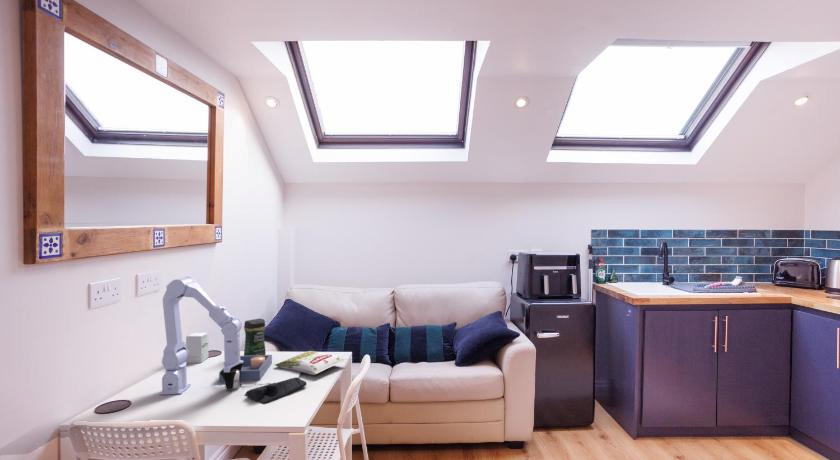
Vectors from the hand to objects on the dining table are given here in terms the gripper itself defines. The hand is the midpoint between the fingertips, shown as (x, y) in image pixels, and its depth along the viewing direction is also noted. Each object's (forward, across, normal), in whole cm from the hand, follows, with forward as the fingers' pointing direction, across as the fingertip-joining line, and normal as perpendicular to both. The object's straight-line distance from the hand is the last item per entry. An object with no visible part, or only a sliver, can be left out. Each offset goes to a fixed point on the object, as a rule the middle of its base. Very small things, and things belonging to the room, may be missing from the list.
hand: (232, 384), depth 180 cm
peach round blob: (+1, +23, -4) cm, 23 cm away
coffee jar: (+2, +42, +2) cm, 42 cm away
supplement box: (+2, +40, +28) cm, 49 cm away
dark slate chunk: (+2, -5, -18) cm, 19 cm away
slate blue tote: (+2, +17, -1) cm, 17 cm away
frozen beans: (+2, +22, -27) cm, 35 cm away
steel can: (+2, 0, 0) cm, 2 cm away
